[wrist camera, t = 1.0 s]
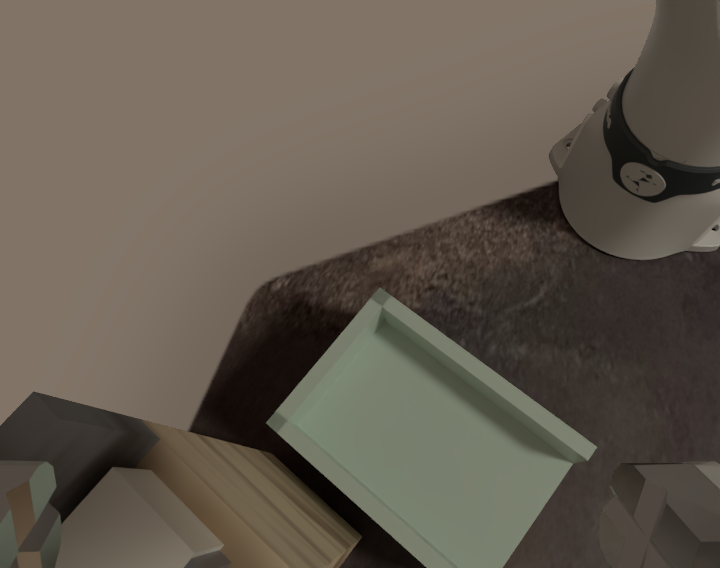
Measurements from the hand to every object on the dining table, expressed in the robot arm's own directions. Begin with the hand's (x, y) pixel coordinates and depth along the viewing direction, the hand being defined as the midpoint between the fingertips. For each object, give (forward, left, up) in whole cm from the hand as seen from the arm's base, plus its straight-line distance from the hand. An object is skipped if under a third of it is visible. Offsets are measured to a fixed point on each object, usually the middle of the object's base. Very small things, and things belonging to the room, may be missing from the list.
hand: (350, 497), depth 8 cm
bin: (-4, -1, -44) cm, 44 cm away
